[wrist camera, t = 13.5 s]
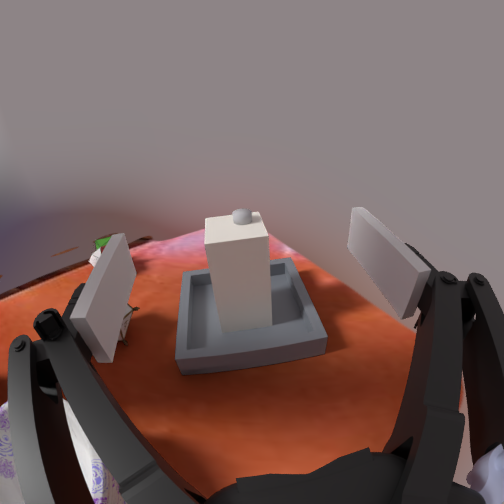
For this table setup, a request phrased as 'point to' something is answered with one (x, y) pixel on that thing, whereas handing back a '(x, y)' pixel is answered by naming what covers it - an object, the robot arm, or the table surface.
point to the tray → (251, 340)
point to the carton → (239, 269)
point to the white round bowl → (95, 472)
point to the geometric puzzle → (98, 250)
